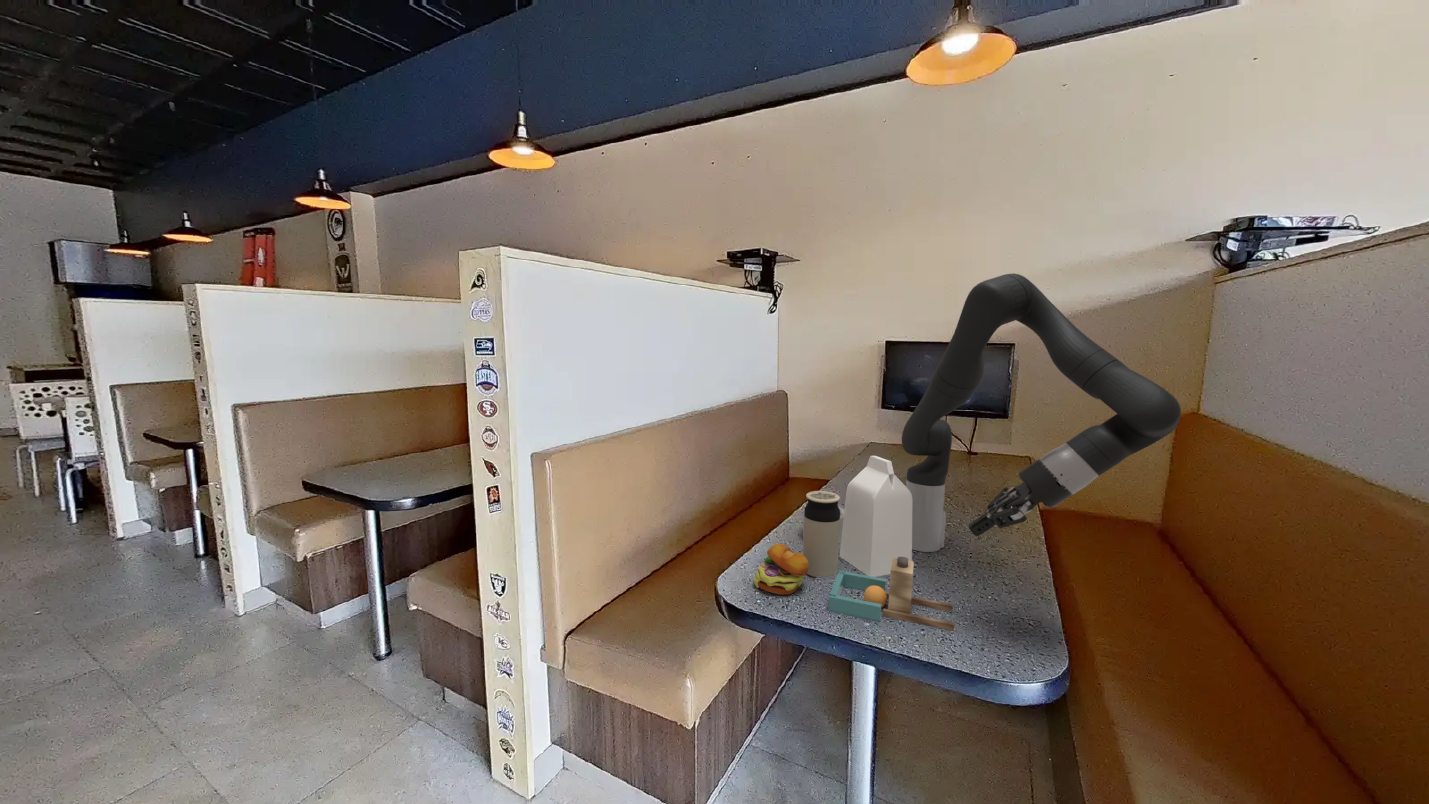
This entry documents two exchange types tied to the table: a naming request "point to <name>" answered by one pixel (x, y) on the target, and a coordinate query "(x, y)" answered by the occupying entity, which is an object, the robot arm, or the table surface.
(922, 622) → the channel
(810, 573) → the travel mug
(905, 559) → the tan rectangular block
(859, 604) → the teal u-shaped frame
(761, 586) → the cheeseburger
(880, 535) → the milk
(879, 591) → the ball
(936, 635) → the table surface
